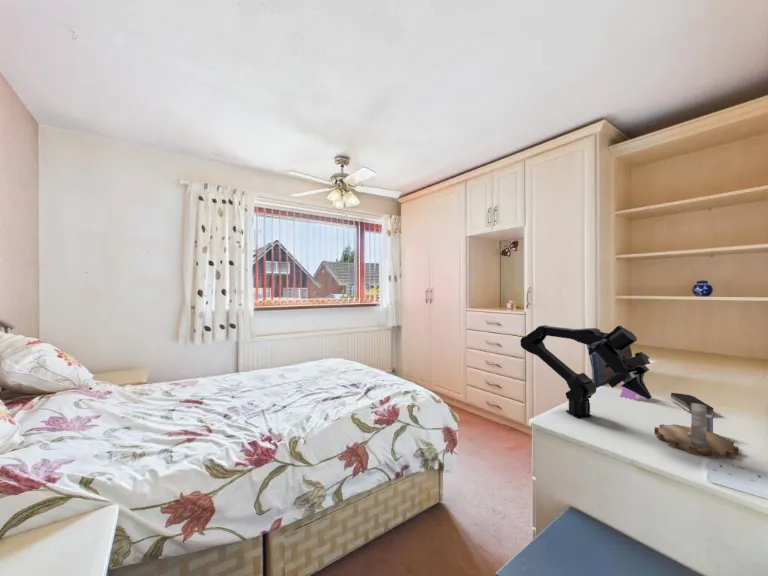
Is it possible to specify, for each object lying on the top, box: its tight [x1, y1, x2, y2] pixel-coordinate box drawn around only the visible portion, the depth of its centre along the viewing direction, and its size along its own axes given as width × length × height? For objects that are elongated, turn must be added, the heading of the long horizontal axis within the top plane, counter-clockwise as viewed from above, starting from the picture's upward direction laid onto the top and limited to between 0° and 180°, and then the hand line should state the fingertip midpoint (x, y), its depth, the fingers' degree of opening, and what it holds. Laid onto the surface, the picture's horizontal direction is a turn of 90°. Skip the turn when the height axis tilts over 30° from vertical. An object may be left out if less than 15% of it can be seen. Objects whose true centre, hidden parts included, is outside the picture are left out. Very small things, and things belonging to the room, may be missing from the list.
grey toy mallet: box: [706, 414, 714, 433], centre depth 107 cm, size 3×6×6 cm, turn 123°
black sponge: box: [670, 392, 715, 417], centre depth 130 cm, size 16×8×4 cm, turn 160°
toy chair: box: [619, 379, 645, 401], centre depth 143 cm, size 8×9×15 cm
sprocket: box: [654, 403, 740, 460], centre depth 101 cm, size 19×19×14 cm
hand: (650, 398), depth 104 cm, fingers closed
